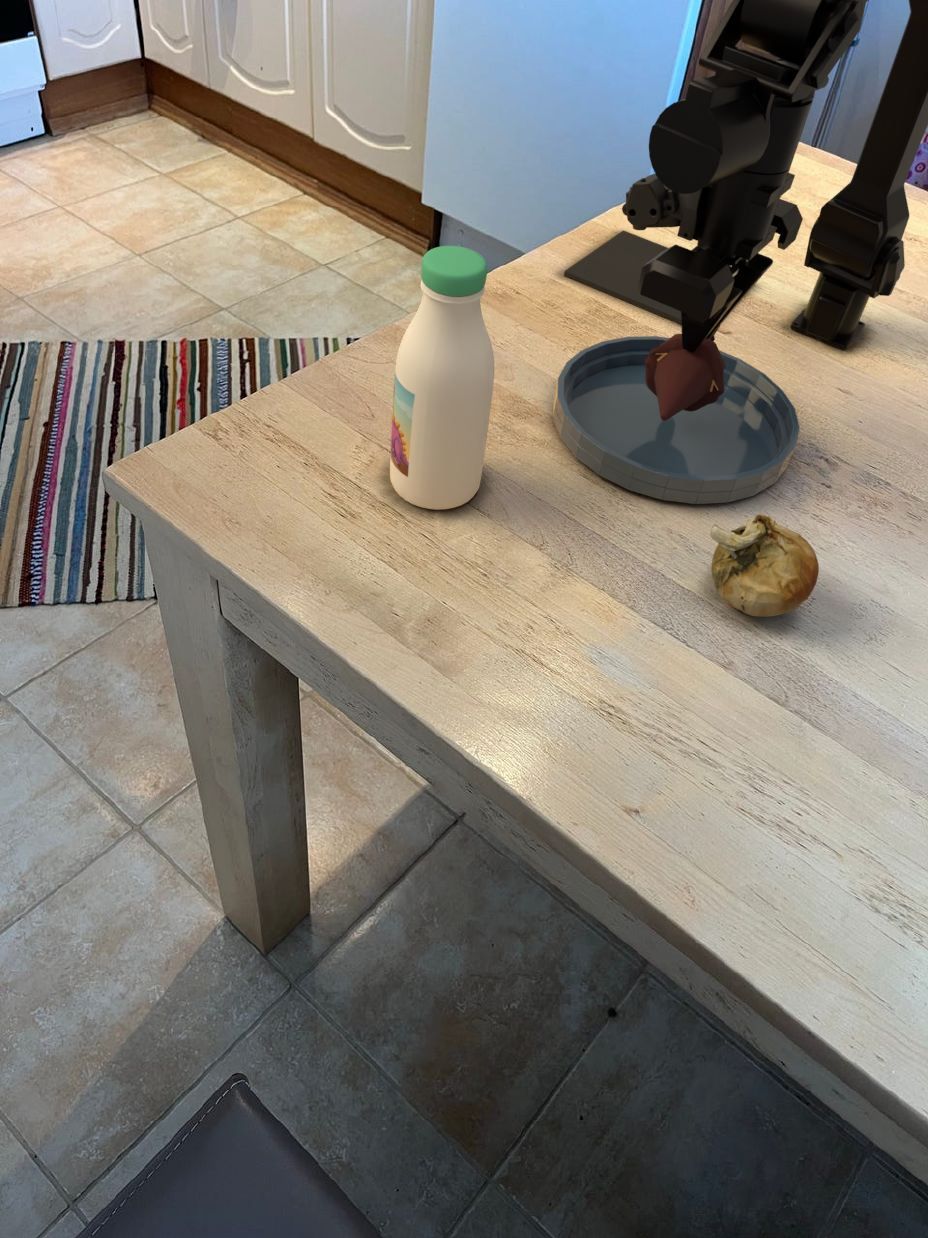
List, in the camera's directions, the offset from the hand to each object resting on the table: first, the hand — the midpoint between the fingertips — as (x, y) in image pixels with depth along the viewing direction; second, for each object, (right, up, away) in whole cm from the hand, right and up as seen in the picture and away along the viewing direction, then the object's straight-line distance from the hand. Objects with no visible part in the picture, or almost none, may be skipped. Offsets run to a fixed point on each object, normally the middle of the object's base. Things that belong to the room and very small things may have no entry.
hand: (695, 343), depth 82 cm
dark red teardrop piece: (-1, -4, +5) cm, 6 cm away
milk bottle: (-23, -12, -2) cm, 26 cm away
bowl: (-1, -6, +7) cm, 9 cm away
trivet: (+2, +15, +26) cm, 30 cm away
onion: (+2, -22, -8) cm, 24 cm away
